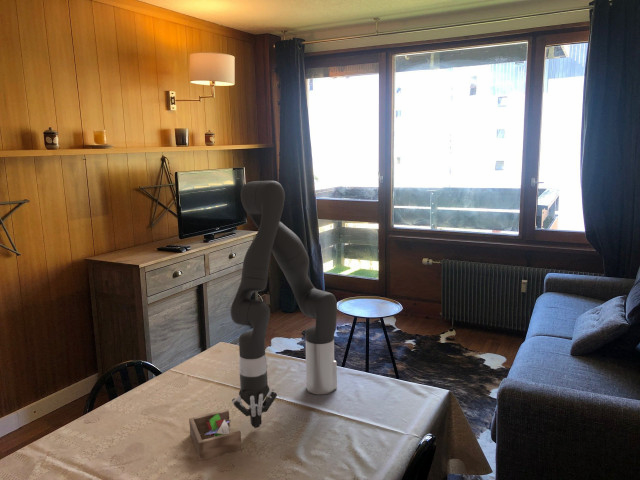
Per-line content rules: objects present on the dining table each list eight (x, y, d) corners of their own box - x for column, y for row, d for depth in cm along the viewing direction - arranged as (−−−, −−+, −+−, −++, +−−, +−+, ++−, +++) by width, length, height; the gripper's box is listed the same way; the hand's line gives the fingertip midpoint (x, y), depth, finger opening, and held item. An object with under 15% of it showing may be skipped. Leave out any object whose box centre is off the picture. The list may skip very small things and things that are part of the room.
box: (228, 425, 149) (228, 409, 148) (241, 449, 137) (240, 432, 136) (190, 434, 144) (189, 418, 143) (200, 460, 133) (198, 443, 132)
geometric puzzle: (194, 433, 141) (207, 415, 138) (210, 420, 147) (222, 403, 144) (212, 452, 140) (226, 435, 136) (227, 439, 146) (240, 422, 142)
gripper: (271, 359, 148) (274, 414, 152) (226, 368, 143) (229, 425, 146) (280, 370, 141) (282, 427, 145) (233, 380, 136) (236, 439, 140)
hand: (256, 426), depth 146 cm, fingers closed
